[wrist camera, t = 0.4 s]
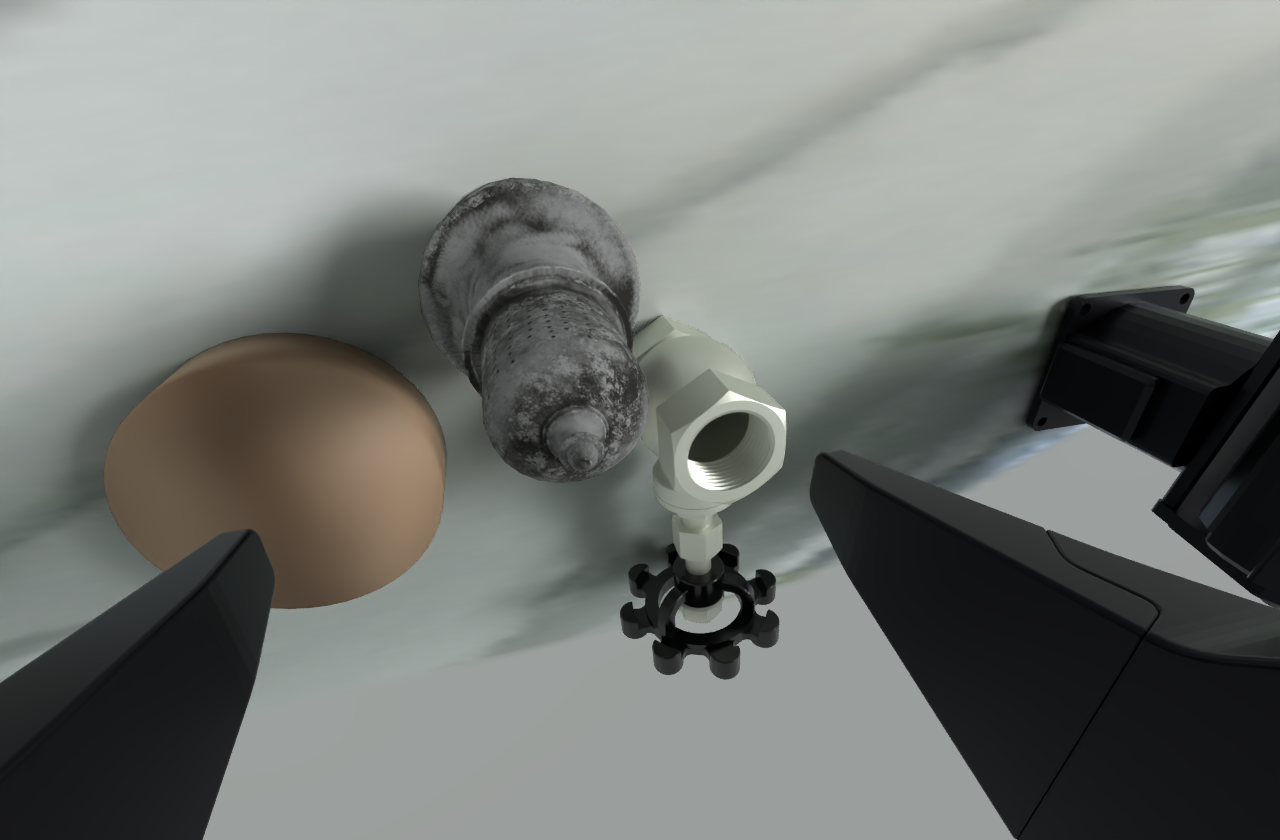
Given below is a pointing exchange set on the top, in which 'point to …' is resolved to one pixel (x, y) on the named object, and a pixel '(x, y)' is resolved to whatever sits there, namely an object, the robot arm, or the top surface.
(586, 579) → the top surface
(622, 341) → the salt shaker
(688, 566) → the valve
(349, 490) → the tan round disc
